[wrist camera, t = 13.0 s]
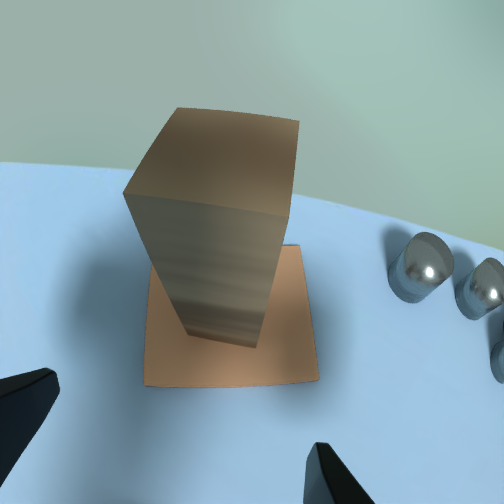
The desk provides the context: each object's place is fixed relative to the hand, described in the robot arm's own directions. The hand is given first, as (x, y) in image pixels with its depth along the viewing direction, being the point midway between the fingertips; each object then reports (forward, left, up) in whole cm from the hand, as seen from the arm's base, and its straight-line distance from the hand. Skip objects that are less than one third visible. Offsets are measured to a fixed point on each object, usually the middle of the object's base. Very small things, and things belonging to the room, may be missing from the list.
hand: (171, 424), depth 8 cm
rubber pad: (+2, +7, -9) cm, 12 cm away
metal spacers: (+23, +4, -9) cm, 25 cm away
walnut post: (+2, +7, -9) cm, 12 cm away
